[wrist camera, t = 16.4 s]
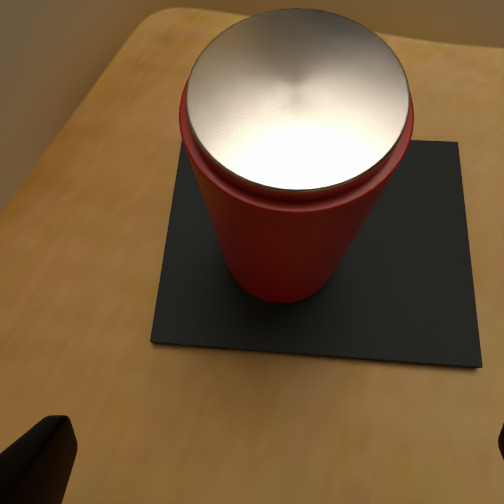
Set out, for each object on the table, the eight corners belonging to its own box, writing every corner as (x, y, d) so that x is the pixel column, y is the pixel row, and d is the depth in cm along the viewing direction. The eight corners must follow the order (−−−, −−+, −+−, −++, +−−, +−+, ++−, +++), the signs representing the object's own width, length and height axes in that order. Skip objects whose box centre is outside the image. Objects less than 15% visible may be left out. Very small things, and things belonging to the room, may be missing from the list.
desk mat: (453, 147, 25) (458, 141, 25) (477, 368, 21) (483, 367, 20) (185, 135, 26) (183, 130, 26) (152, 343, 22) (149, 341, 21)
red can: (352, 223, 23) (452, 37, 10) (312, 324, 21) (375, 243, 9) (253, 185, 24) (236, -25, 12) (206, 277, 22) (128, 147, 10)
